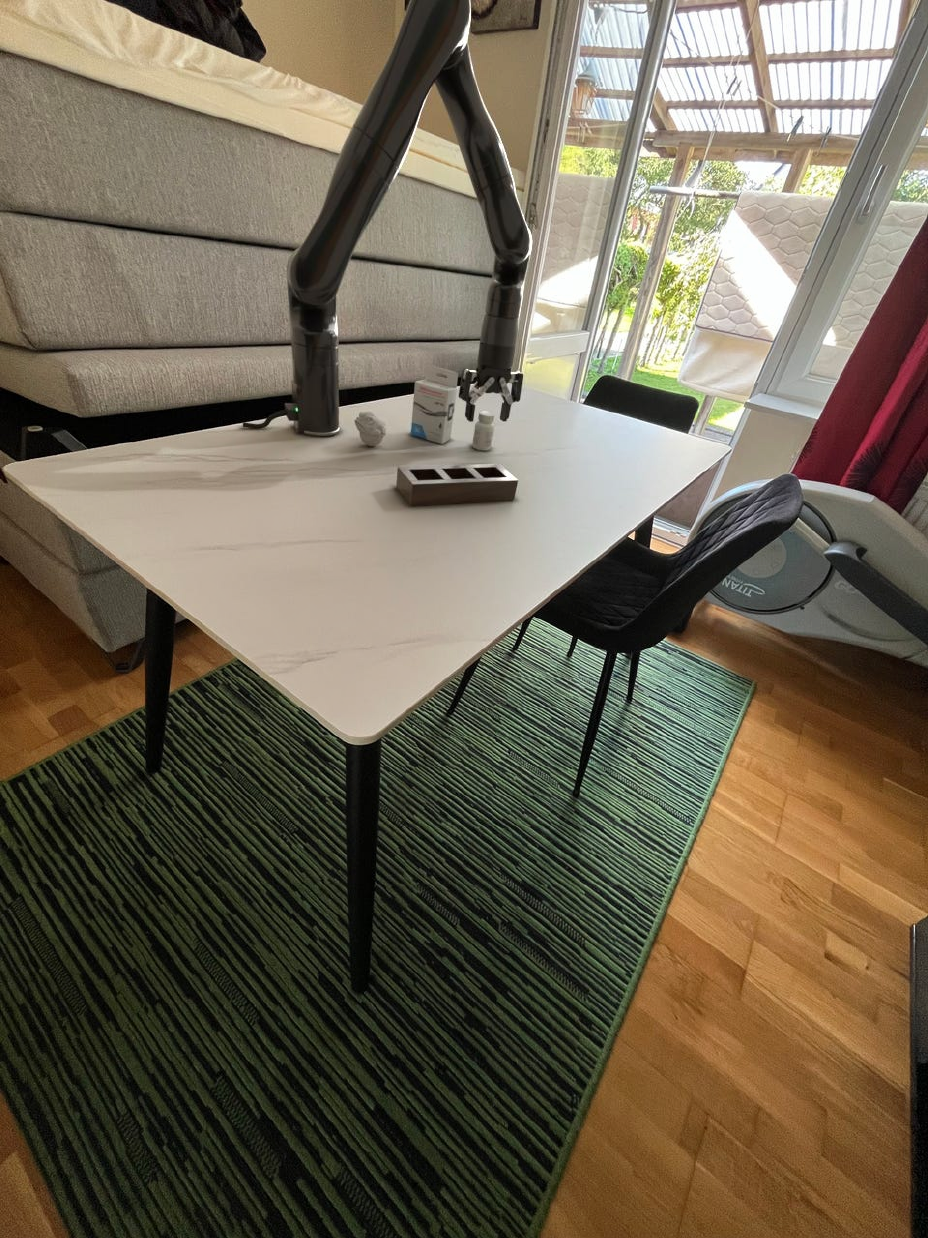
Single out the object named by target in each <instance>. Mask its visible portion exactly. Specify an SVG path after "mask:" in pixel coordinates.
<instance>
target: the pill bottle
mask: <svg viewBox="0 0 928 1238" xmlns="http://www.w3.org/2000/svg"><path fill="white" fill-rule="evenodd" d="M477 419H478V421H476V422H475V424H474V430H473V437H472V445H471V446H472V447H473V449H475V450H477V451H490V450H491V449H492V443H493V437H494V432H495V425H494V424H493V423H494V419H495V414H494V413H493V412H490V411H484V410H483V411H481V410H480V411H479V412H478V418H477Z"/></svg>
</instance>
